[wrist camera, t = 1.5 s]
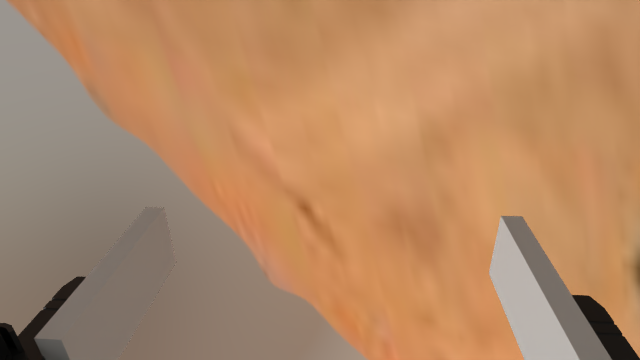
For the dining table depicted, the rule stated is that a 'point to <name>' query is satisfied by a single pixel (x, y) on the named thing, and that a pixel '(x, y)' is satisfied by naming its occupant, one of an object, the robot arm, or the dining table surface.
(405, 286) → the dining table surface
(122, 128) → the dining table surface
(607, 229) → the dining table surface
